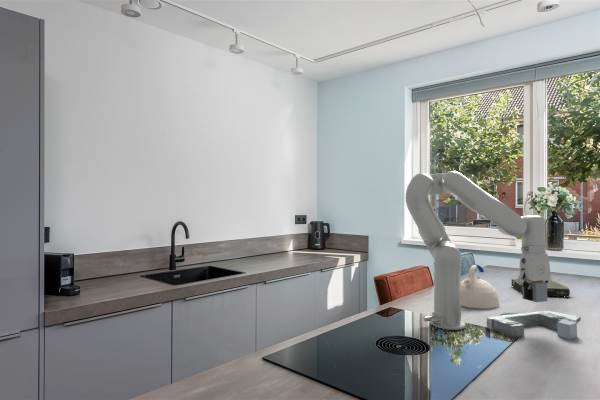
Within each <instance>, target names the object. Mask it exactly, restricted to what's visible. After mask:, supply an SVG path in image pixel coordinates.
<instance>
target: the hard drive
mask: <svg viewBox="0 0 600 400" xmlns="http://www.w3.org/2000/svg"><path fill="white" fill-rule="evenodd" d="M544 311H547V312H550V313H552V314H555V315H559V316H563V317H566V318H569V319H571V321H572V322H577V323H578V322H579V320H581V316H579V315H574V314H570V313H569V314H568V313H563V312H557V311H552V310H551V311H550V310H544Z"/></svg>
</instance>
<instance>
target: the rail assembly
mask: <svg viewBox="0 0 600 400" xmlns="http://www.w3.org/2000/svg"><path fill="white" fill-rule="evenodd" d="M547 311H548V310H546V311H545V310H541V311H540V310H539V311H531V312H521V313H513V314H504V315H495V316H487V317H486V329H488V330H491V331H495V332H496V333H497V332H498V333H500V334H502V335H505V336H507V337H510V338H512V339H513V338H514V339H515V338H521V337H525V327H526V326H533V325H540V326H544V327H547V328H549V329H552V330H556V331H557V322H559V321H562V320H568V321H571V319H569V318H566V317H563V316H559V315H555V314H552V313H550V312H547Z"/></svg>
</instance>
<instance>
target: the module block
mask: <svg viewBox="0 0 600 400" xmlns="http://www.w3.org/2000/svg"><path fill="white" fill-rule="evenodd" d="M528 283H529V282H527V284H528ZM531 289H532V290H533V300H529V301H530V302H534V303H544V302H548V296H547V283H545V282H541V281H540V282H539V281H536V282H532V287H531ZM521 295H522V299H524V300H527V299H525V298H524V288H523V287H522V293H521ZM527 301H528V300H527Z"/></svg>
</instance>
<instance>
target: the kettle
mask: <svg viewBox="0 0 600 400" xmlns="http://www.w3.org/2000/svg"><path fill="white" fill-rule="evenodd" d="M476 268H477V269H478V271H479V273H484V272H485V270H484V268H483V267H482V266H481V265H479V264H472V266H470V268H469V271H468V278H465V279H463V280H462V281H461V280H460V285H461V307H464V308H465V307H466V308H469V309H471V308H472V309H480V310H482V309H483V310H486V309H496V308H498V307H499V306H500V301H499V294H498V292H497V290H496V288H494V286H493V285H492V284H491V283H489V282H488V281H486V280H484V279H482V278H480V277H475V273H476V272H475V271H476Z"/></svg>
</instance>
